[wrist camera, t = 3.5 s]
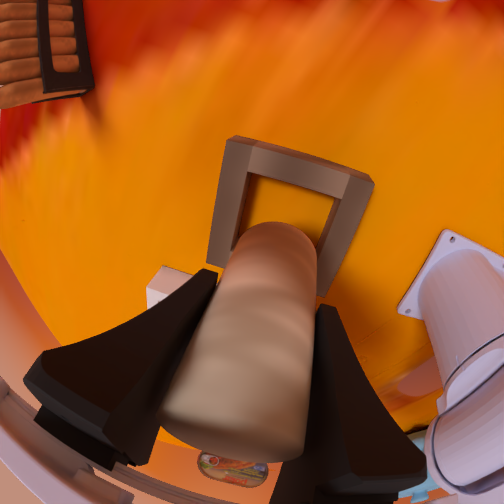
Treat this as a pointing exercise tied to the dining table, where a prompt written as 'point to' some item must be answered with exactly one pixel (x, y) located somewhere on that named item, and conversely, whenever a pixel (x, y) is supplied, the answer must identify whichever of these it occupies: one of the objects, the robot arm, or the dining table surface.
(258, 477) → the tin
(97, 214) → the dining table surface
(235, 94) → the dining table surface
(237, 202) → the frame
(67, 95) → the ammunition clip
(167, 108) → the dining table surface
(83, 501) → the robot arm
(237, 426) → the dowel
